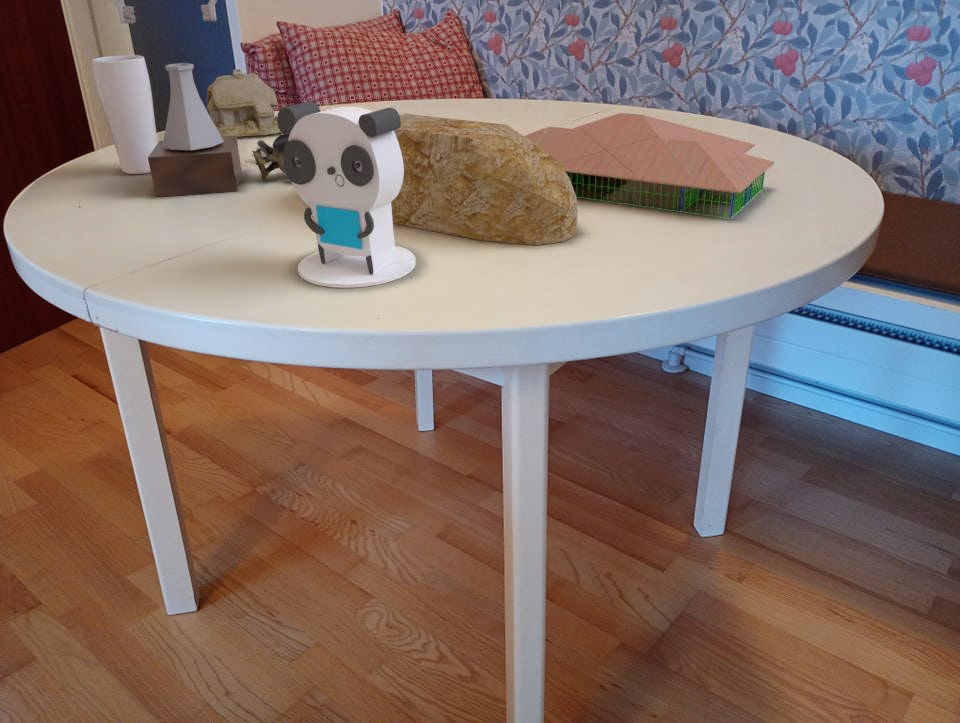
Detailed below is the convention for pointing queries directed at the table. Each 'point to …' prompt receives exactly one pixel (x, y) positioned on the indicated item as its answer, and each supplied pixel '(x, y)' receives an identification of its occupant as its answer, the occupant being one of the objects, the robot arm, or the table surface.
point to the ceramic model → (242, 105)
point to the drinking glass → (127, 108)
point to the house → (656, 157)
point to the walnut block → (196, 169)
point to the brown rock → (481, 183)
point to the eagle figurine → (271, 155)
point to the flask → (187, 113)
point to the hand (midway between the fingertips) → (169, 22)
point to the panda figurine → (347, 191)
